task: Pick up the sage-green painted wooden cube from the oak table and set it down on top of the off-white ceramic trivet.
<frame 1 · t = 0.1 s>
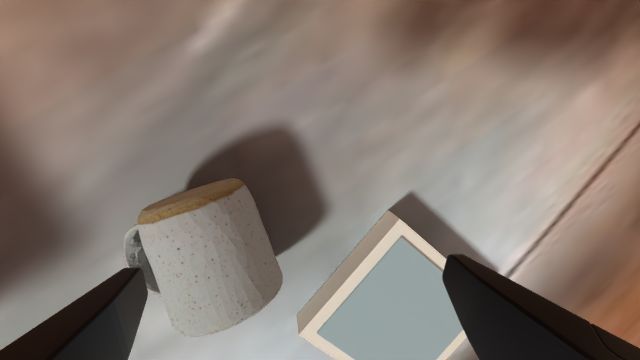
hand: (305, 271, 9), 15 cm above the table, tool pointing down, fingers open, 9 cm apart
trivet: (391, 301, 27), on the table
ceramic mug: (207, 238, 24), on the table
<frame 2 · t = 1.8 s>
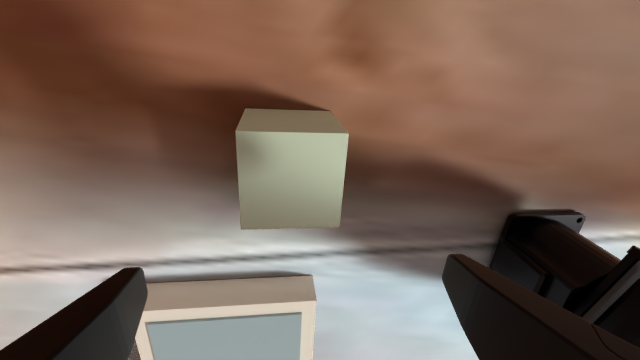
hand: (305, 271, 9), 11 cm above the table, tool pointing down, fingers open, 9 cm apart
cube: (288, 149, 19), on the table
trivet: (235, 336, 25), on the table
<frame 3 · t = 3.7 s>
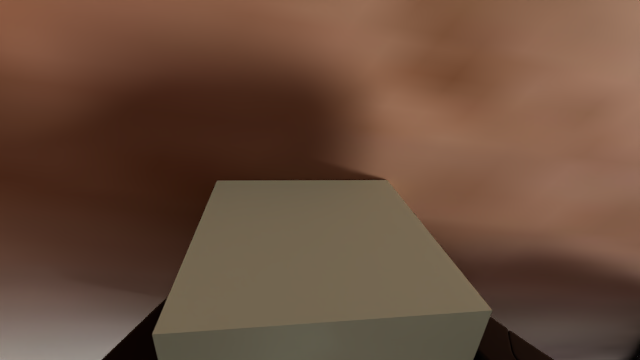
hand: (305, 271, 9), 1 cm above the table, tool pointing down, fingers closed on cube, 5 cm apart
cube: (302, 249, 10), on the table, touching gripper
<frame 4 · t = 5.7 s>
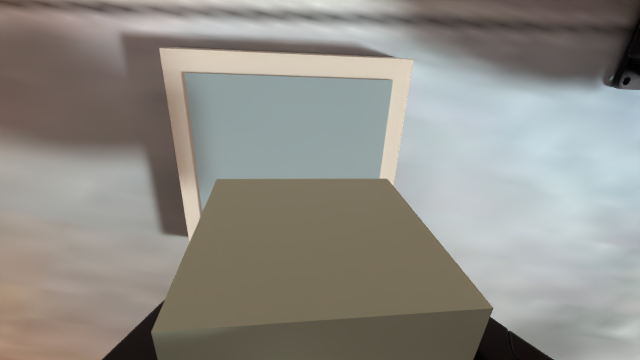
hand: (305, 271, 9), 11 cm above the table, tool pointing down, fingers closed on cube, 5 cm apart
cube: (302, 248, 10), point 10 cm above the table, touching gripper
trivet: (290, 155, 19), on the table
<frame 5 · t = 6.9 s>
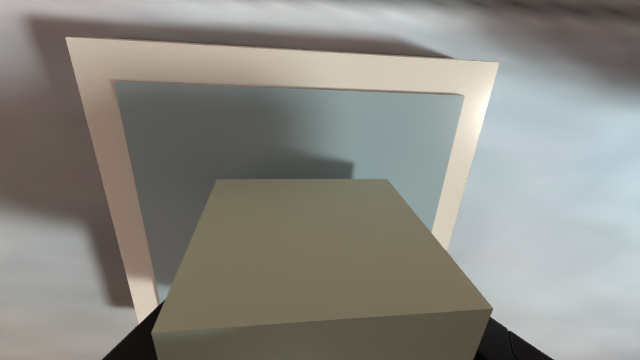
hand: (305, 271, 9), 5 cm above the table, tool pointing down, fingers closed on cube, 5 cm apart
cube: (302, 248, 10), point 4 cm above the table, touching gripper
trivet: (294, 199, 13), on the table
when the fingers open (4 cm above the table, at t = 7.7 s): cube stays where it is, resting on trivet.
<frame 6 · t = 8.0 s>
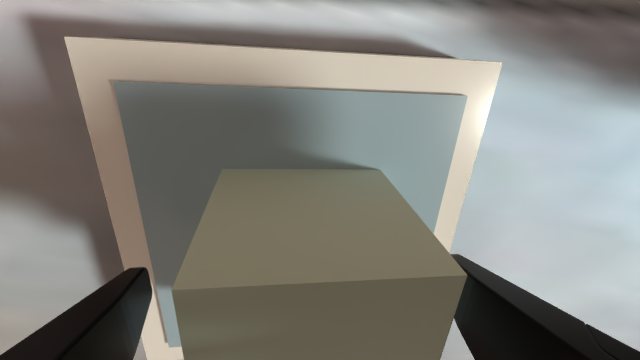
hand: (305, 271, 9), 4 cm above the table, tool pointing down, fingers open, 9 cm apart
cube: (301, 235, 11), point 3 cm above the table, touching trivet
trivet: (295, 200, 13), on the table
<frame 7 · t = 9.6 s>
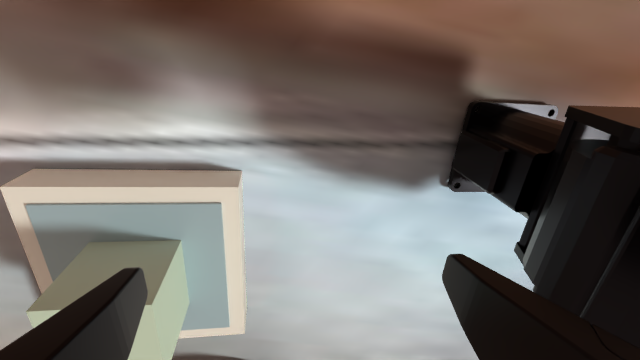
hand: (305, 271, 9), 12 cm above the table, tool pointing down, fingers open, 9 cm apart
cube: (143, 274, 19), point 3 cm above the table, touching trivet
trivet: (157, 248, 21), on the table
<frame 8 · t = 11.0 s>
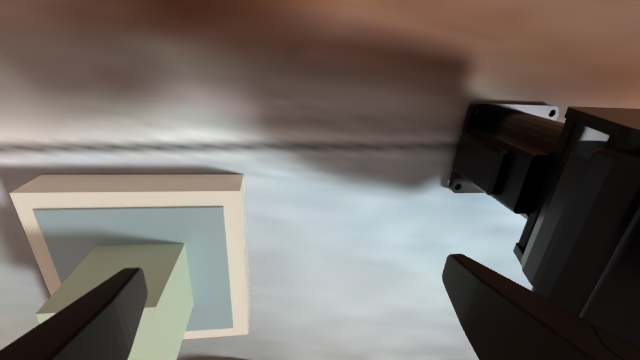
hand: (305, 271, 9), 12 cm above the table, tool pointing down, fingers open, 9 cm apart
cube: (148, 276, 19), point 3 cm above the table, touching trivet
trivet: (162, 251, 22), on the table
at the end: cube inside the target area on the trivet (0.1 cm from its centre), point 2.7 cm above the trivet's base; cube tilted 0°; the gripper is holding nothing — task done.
